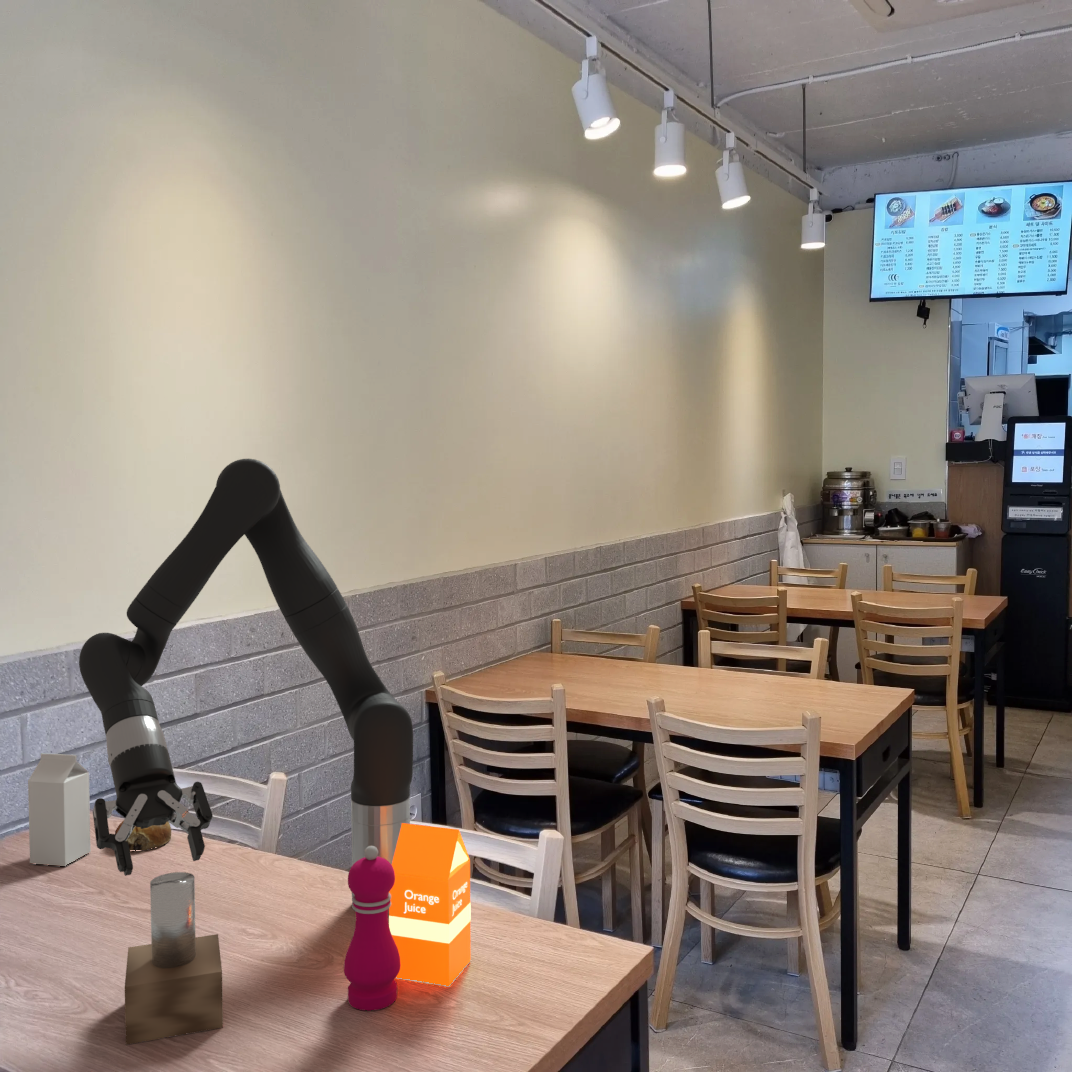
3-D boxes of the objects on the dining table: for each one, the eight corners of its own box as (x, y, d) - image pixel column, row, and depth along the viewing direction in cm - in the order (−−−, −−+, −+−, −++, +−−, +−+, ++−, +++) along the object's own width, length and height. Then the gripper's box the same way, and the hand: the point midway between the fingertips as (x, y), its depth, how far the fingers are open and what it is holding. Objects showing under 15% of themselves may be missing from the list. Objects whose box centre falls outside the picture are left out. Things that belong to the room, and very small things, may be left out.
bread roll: (175, 862, 187) (189, 819, 189) (131, 854, 179) (147, 809, 181) (141, 852, 192) (156, 810, 194) (97, 844, 184) (113, 801, 186)
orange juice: (449, 988, 131) (448, 839, 130) (388, 978, 134) (387, 831, 133) (471, 962, 139) (470, 820, 138) (414, 953, 141) (412, 814, 141)
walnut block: (218, 986, 132) (218, 934, 132) (222, 1027, 122) (222, 971, 121) (129, 1000, 128) (128, 947, 128) (125, 1044, 118) (124, 987, 118)
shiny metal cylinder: (195, 946, 128) (194, 869, 128) (196, 964, 123) (194, 884, 123) (152, 952, 126) (150, 875, 126) (151, 971, 121) (149, 890, 121)
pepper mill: (375, 1019, 123) (373, 860, 123) (332, 1003, 127) (330, 849, 126) (412, 994, 130) (411, 843, 129) (370, 980, 133) (368, 833, 133)
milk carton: (65, 867, 174) (62, 760, 173) (29, 865, 176) (27, 758, 175) (91, 853, 181) (88, 750, 180) (56, 850, 183) (54, 748, 182)
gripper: (87, 750, 130) (109, 863, 121) (197, 734, 138) (225, 838, 129) (79, 781, 134) (100, 892, 126) (186, 764, 143) (213, 866, 134)
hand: (164, 864), depth 127 cm, fingers open, 8 cm apart
